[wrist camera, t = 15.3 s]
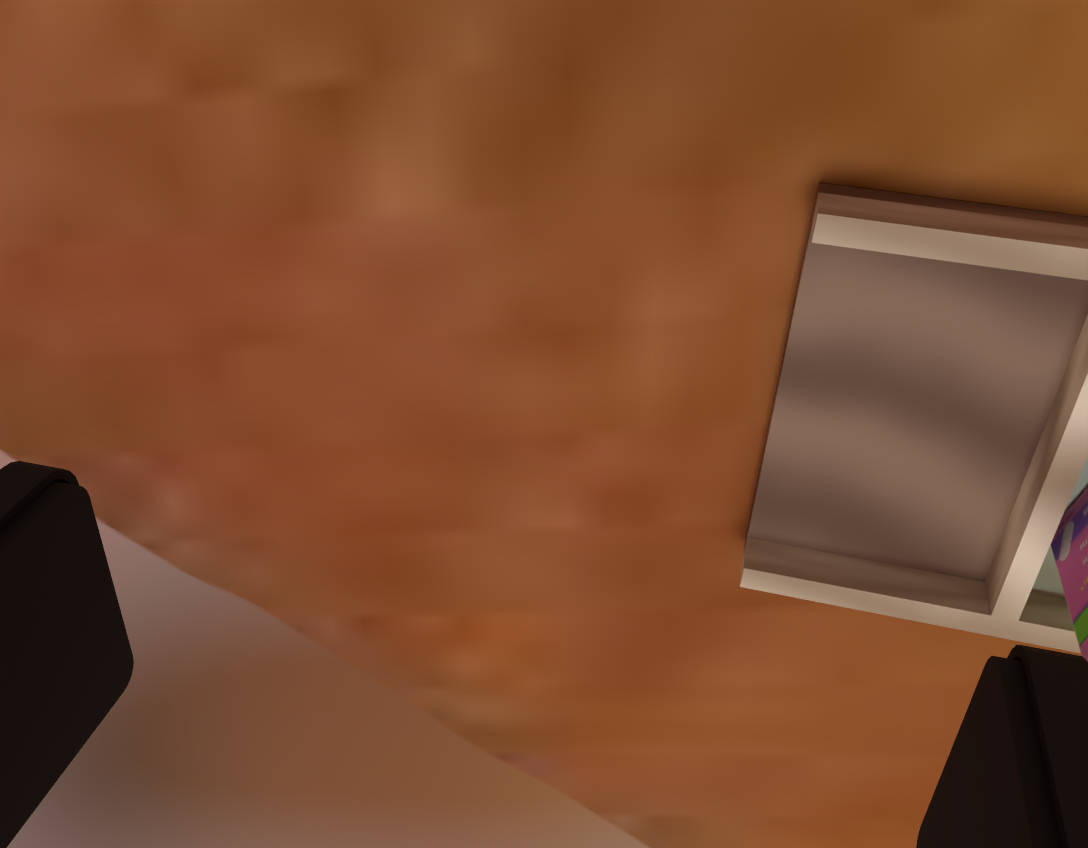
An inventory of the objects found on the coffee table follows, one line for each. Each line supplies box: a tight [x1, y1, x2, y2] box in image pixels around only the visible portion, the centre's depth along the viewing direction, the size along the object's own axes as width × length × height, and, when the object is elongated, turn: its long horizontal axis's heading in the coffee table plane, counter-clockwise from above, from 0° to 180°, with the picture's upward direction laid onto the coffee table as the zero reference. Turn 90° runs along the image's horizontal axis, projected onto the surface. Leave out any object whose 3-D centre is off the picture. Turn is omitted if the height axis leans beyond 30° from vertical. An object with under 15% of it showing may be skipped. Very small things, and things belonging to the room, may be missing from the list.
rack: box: [740, 183, 1088, 653], centre depth 36 cm, size 16×20×3 cm
